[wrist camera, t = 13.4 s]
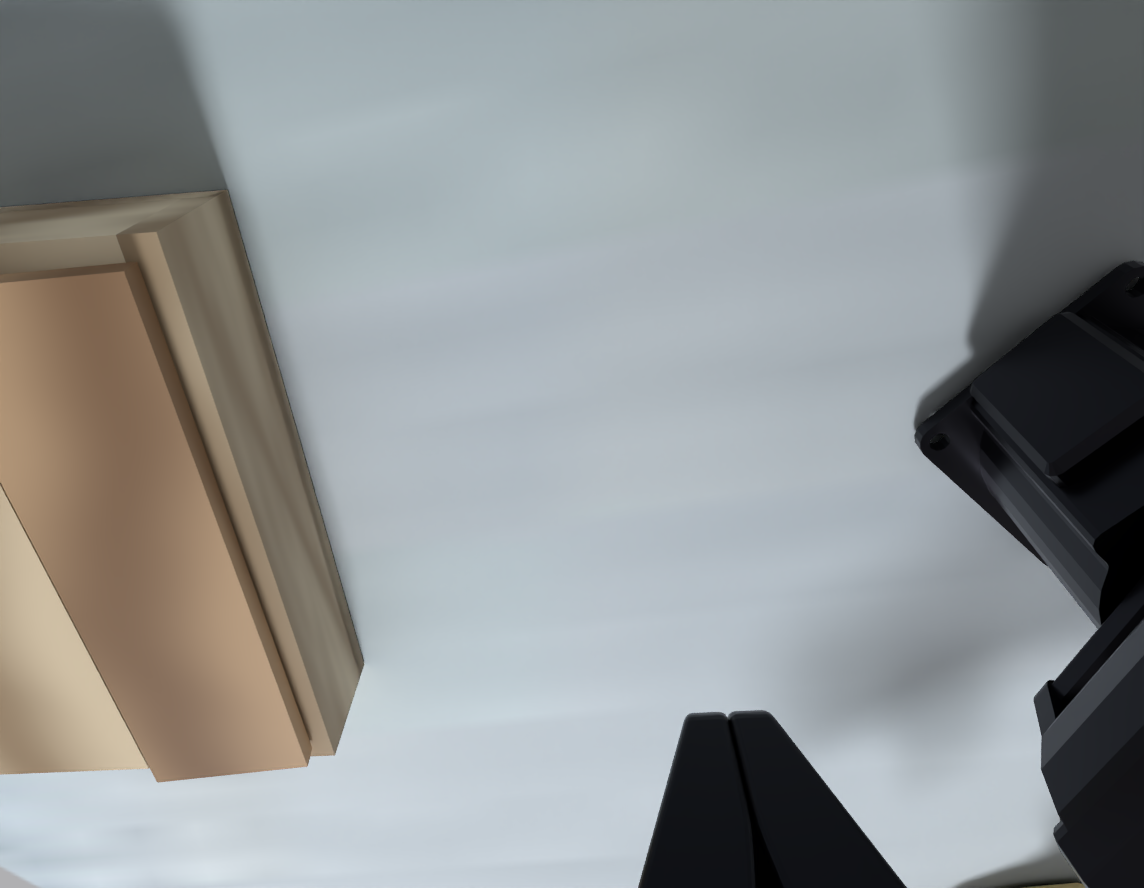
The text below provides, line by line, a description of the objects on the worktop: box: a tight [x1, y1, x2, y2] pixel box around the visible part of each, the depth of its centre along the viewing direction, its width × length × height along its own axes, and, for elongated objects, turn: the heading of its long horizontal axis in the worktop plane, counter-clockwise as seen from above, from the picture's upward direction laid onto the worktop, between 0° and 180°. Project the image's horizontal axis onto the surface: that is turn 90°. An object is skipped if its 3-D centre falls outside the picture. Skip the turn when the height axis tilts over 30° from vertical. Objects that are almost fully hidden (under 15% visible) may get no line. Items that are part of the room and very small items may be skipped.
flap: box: [0, 262, 312, 782], centre depth 19 cm, size 4×14×1 cm, turn 4°
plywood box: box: [0, 190, 364, 774], centre depth 20 cm, size 10×15×4 cm, turn 4°
